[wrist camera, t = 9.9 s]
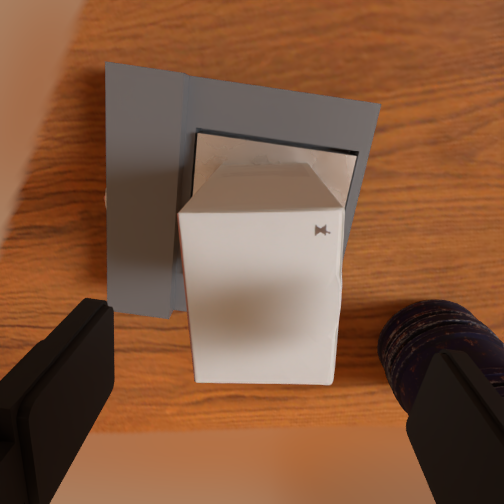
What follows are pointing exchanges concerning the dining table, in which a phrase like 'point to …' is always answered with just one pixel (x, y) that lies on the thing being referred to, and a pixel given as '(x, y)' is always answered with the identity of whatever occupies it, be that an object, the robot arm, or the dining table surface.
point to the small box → (263, 275)
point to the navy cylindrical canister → (435, 346)
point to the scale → (183, 164)
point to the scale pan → (272, 159)
